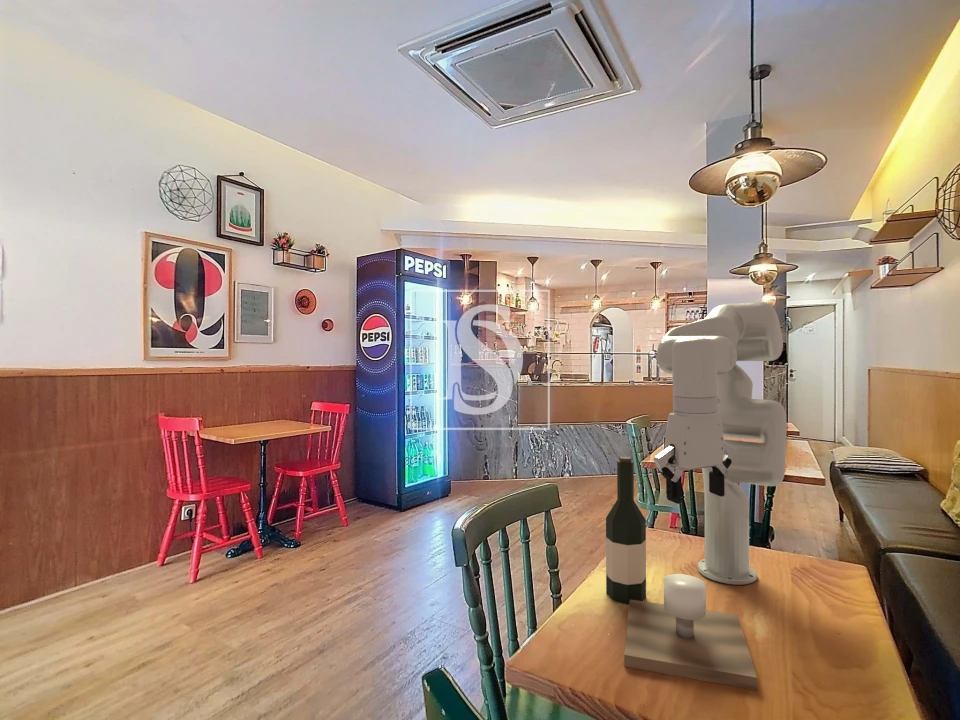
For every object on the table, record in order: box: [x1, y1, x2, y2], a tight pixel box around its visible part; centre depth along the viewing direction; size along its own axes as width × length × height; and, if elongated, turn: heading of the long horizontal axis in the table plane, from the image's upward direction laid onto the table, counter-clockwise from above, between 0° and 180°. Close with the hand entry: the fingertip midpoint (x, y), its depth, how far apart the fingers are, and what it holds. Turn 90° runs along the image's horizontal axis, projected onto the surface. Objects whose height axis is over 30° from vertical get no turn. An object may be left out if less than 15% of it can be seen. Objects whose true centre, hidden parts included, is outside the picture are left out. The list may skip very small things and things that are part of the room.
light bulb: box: [663, 573, 707, 620], centre depth 94 cm, size 7×9×5 cm
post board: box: [623, 600, 758, 691], centre depth 93 cm, size 20×20×6 cm
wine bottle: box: [605, 456, 647, 606], centre depth 112 cm, size 8×8×30 cm
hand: (695, 497), depth 95 cm, fingers open, 9 cm apart
